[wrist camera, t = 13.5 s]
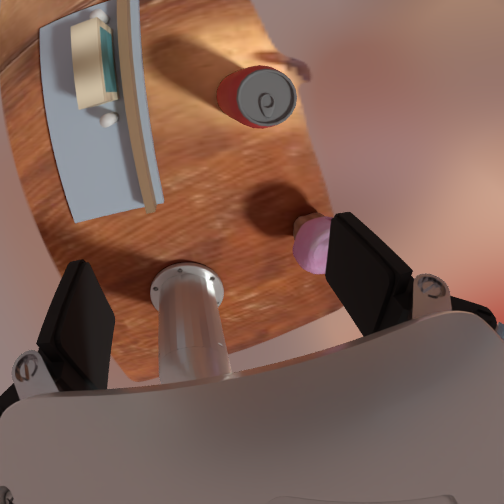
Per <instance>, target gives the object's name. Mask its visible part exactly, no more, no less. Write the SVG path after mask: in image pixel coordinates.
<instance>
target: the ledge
mask: <svg viewBox="0 0 504 504" xmlns="http://www.w3.org/2000/svg"><path fill="white" fill-rule="evenodd" d="M95 17H98V18H99V19H100V20H101V21H103V22H104V23H105V24H107V25H108V26H109V27H110V28H111V29H113V44H114V56H115V66H116V75H117V83H118V91H119V98H120V99H119V100H115V101H112V102H108V103H105V104H102V105H99V106H94V107H90V108H85V109H81V110H79V109H78V103H77V96H76V89H75V81H74V72H73V62H72V48H71V26H74V25H76V24H79V23H81V22H84V21H87V20H89V19H92V18H95ZM40 61H41V75H42V85H43V94H44V102H45V108H46V115H47V121H48V126H49V131H50V136H51V141H52V146H53V150H54V154H55V159H56V163H57V166H58V170H59V174H60V178H61V181H62V185H63V188H64V191H65V195H66V198H67V201H68V204H69V207H70V210H71V213H72V216H73V219H74V222H75V223H78V222H82V221H86V220H90V219H94V218H98V217H102V216H106V215H110V214H114V213H119V212H123V211H127V210H132V209H137V208H141V207H145V210H146V214H147V213H152V212H155V211H156V205H157V204H161V203H164V197H163V192H162V187H161V182H160V177H159V172H158V167H157V161H156V156H155V150H154V144H153V138H152V132H151V125H150V119H149V112H148V104H147V96H146V88H145V79H144V70H143V59H142V47H141V33H140V13H139V0H110V1H107V2H103V3H100V4H97V5H94V6H92V7H89V8H86V9H83V10H81V11H78V12H76V13H73V14H71V15H68V16H66V17H64V18H61V19H59V20H57V21H55V22H52V23H50V24H48V25H46V26H44V27H42V28H40Z"/></svg>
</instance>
